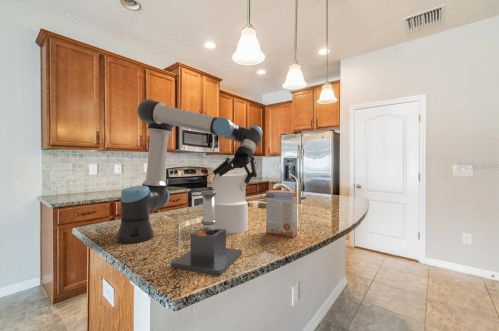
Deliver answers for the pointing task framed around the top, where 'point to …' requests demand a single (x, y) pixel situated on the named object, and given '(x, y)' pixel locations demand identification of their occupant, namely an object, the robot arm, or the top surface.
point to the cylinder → (231, 205)
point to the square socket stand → (208, 253)
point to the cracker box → (281, 213)
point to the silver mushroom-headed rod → (208, 212)
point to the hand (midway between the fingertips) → (226, 188)
